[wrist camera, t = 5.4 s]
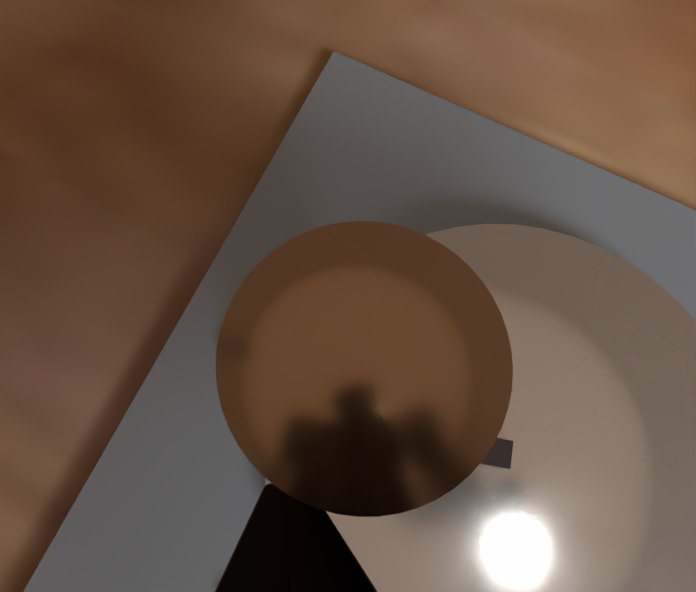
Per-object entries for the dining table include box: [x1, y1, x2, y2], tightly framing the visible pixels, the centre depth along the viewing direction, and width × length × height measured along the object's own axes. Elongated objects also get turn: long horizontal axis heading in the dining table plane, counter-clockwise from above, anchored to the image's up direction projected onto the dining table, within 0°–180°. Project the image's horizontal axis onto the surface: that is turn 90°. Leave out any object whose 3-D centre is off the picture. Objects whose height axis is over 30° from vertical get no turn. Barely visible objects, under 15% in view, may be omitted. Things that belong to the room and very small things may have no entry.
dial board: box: [23, 51, 696, 592], centre depth 17 cm, size 20×20×2 cm
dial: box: [215, 221, 696, 592], centre depth 12 cm, size 13×13×10 cm
